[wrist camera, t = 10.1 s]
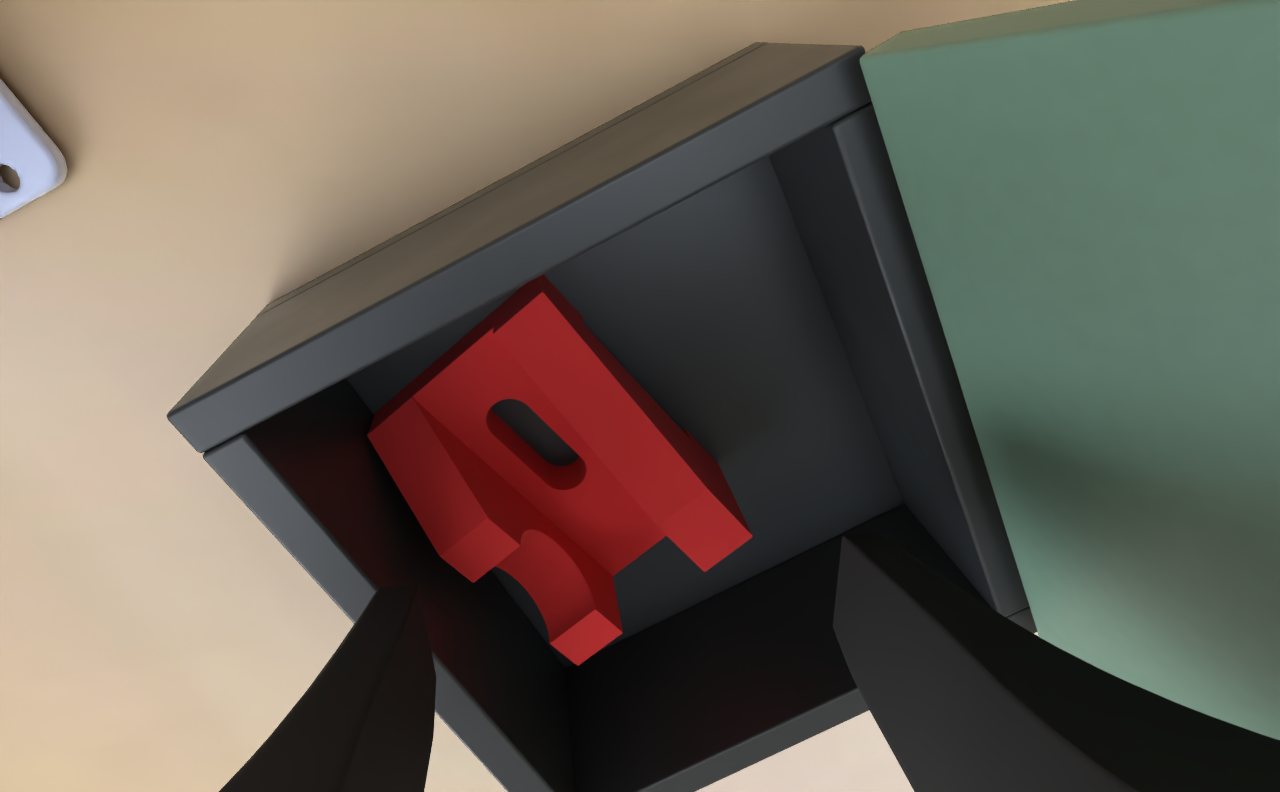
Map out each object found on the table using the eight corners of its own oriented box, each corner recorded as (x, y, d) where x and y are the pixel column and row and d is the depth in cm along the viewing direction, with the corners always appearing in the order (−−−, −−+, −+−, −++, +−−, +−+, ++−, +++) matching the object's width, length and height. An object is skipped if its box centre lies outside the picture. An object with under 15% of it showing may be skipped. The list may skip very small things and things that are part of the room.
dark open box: (552, 676, 22) (563, 854, 17) (265, 305, 16) (162, 416, 11) (924, 495, 21) (1044, 629, 16) (757, 41, 15) (865, 43, 11)
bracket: (718, 464, 19) (752, 536, 16) (569, 578, 19) (577, 666, 17) (539, 270, 16) (545, 318, 13) (375, 412, 17) (348, 484, 14)
